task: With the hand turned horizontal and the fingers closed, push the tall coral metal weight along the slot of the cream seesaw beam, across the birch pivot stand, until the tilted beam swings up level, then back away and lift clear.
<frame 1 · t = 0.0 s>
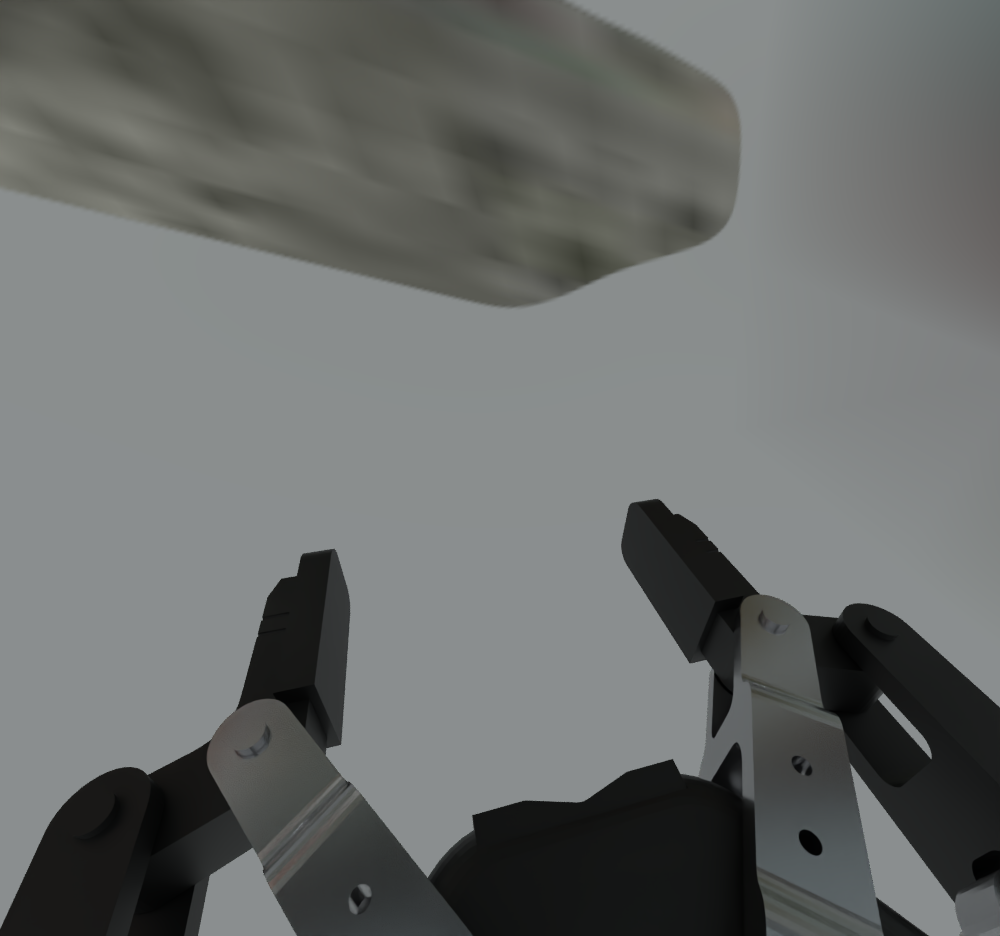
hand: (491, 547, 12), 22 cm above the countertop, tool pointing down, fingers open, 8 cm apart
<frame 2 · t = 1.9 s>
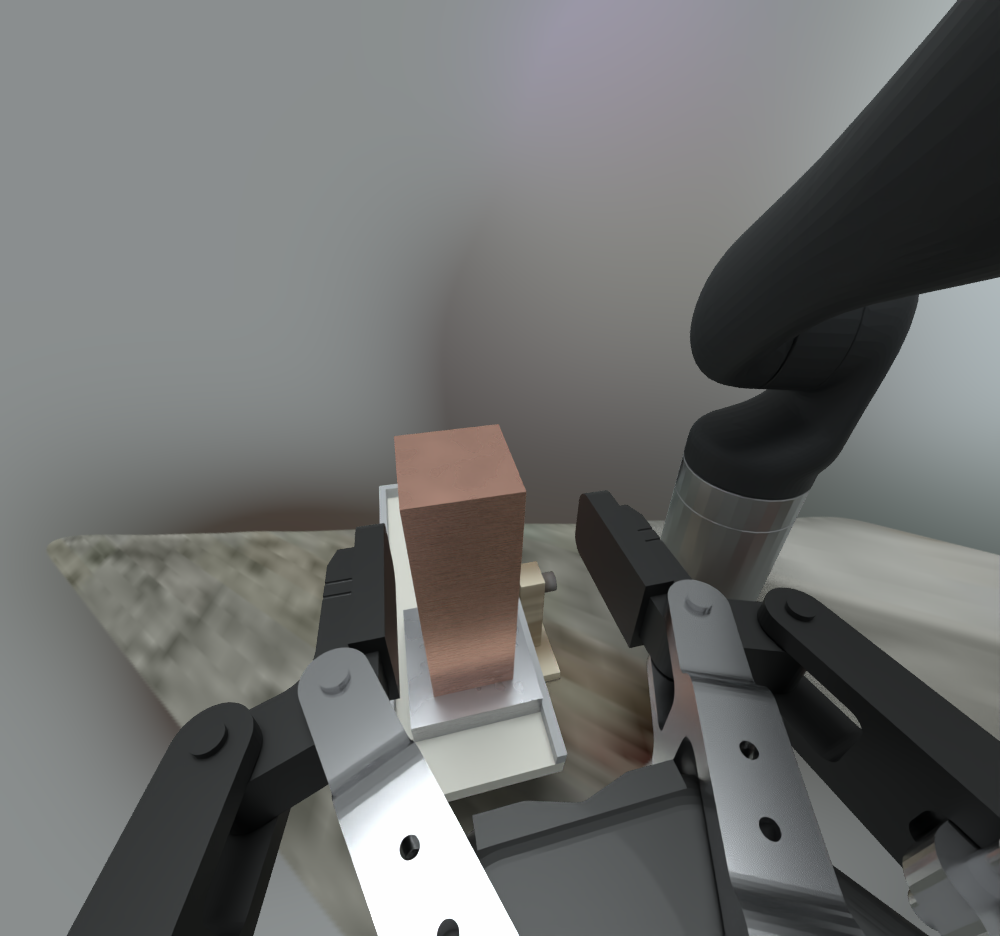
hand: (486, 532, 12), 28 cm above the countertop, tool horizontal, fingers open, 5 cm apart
pivot stand: (456, 658, 40), on the countertop
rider: (468, 665, 30), point 8 cm above the countertop, tilted 5°, touching beam
beam: (449, 595, 35), point 9 cm above the countertop, hinge at -5.3°, touching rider
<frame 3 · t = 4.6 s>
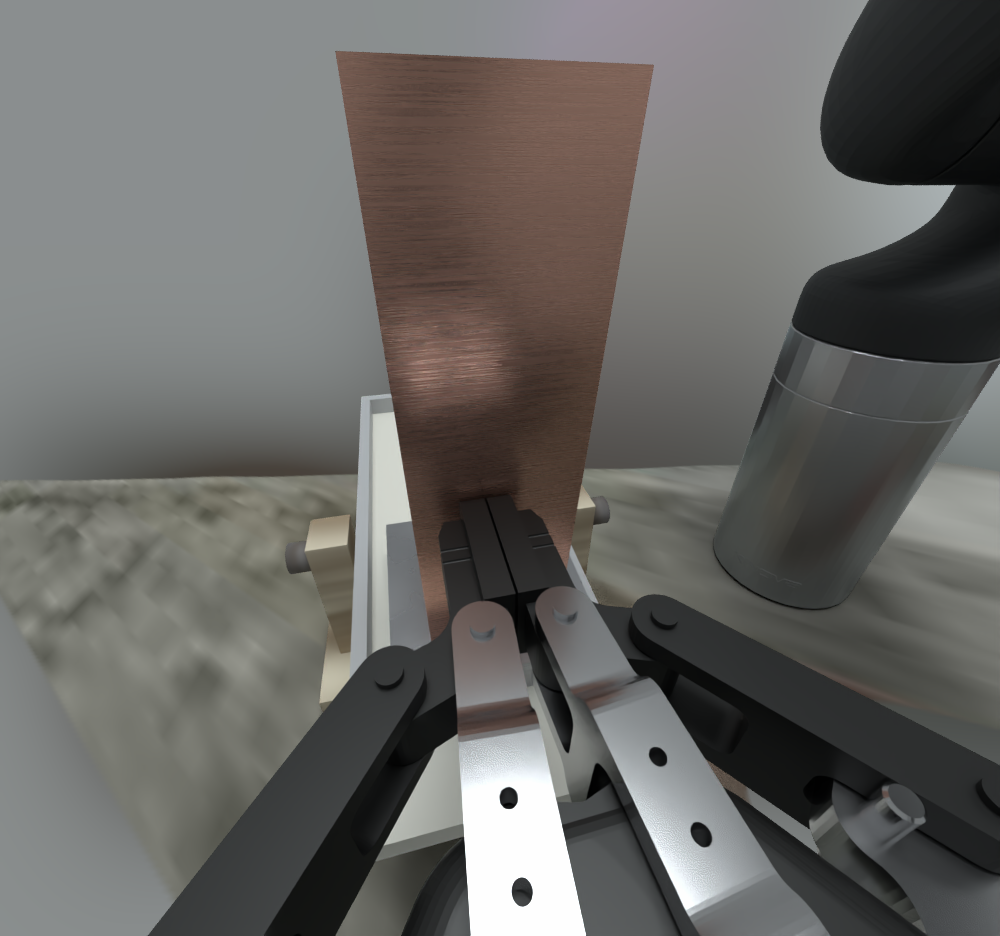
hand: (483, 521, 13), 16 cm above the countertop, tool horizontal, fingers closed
pivot stand: (464, 623, 29), on the countertop
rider: (484, 604, 20), point 8 cm above the countertop, tilted 5°, touching beam, gripper
beam: (456, 524, 24), point 9 cm above the countertop, hinge at -5.3°, touching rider
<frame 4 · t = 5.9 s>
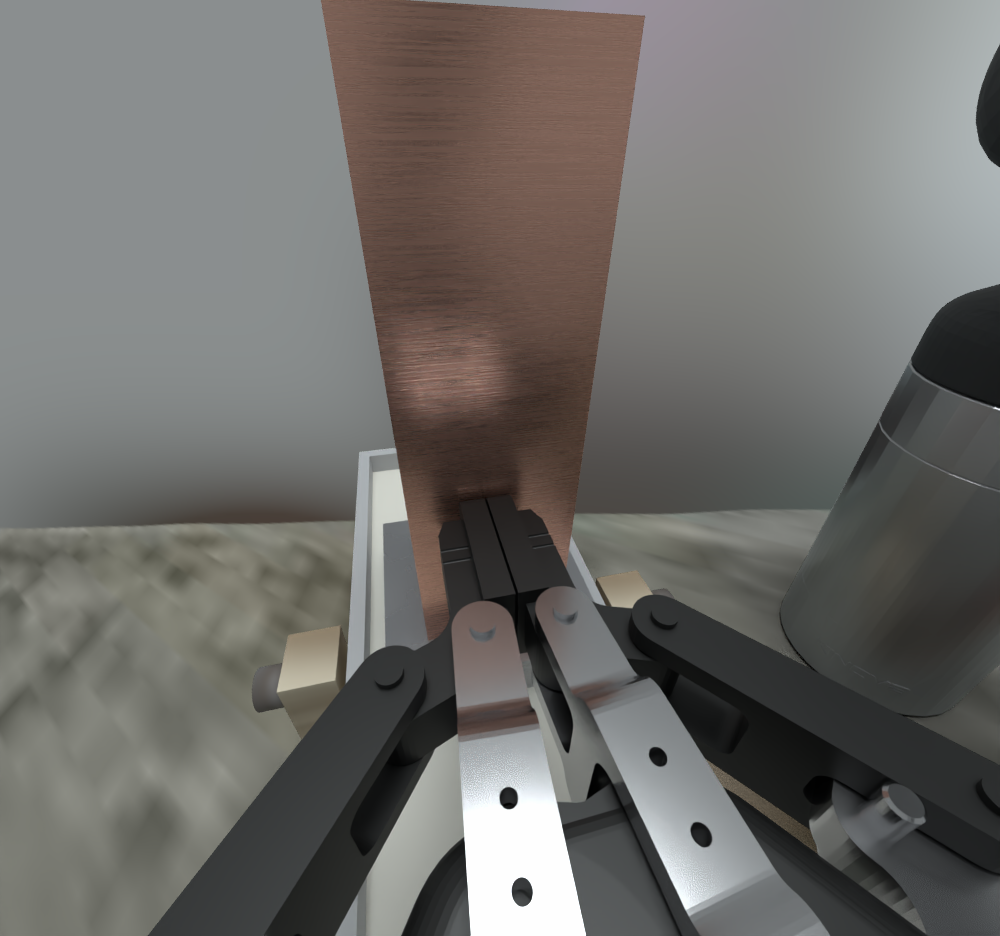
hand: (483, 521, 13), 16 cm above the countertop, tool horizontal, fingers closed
pivot stand: (486, 736, 23), on the countertop
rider: (483, 604, 19), point 9 cm above the countertop, touching gripper
beam: (481, 636, 18), point 9 cm above the countertop, hinge at -3.1°
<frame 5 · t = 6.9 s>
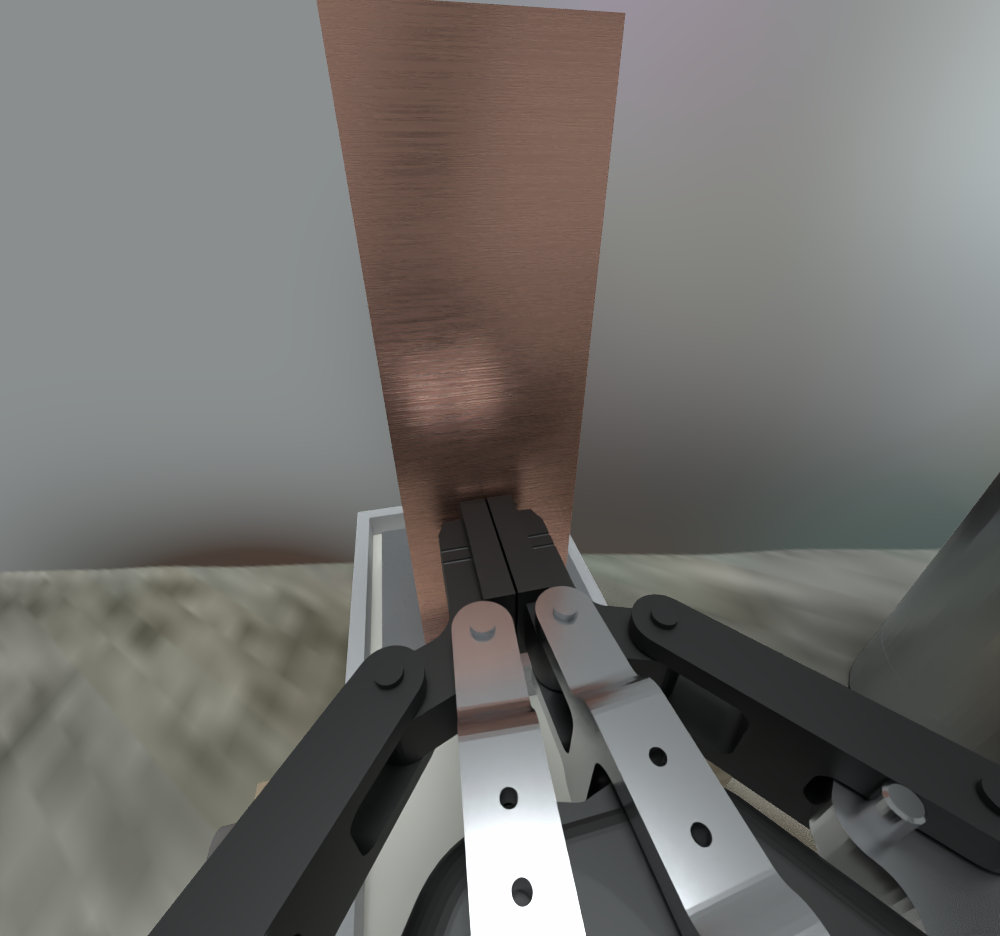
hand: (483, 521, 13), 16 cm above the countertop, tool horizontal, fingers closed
pivot stand: (510, 862, 19), on the countertop
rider: (483, 612, 19), point 9 cm above the countertop, touching gripper
beam: (512, 774, 14), point 9 cm above the countertop, hinge at 0.2°
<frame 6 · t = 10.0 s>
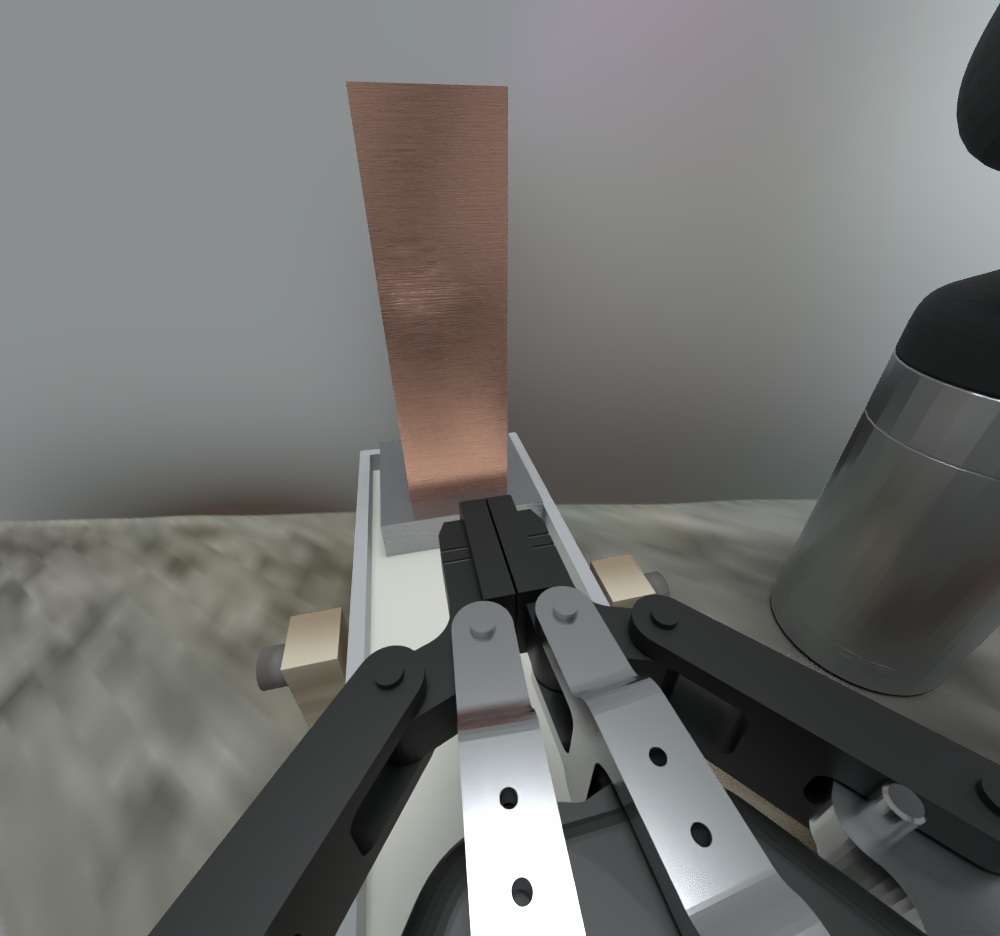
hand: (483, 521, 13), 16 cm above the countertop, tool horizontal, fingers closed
pivot stand: (483, 717, 24), on the countertop
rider: (455, 497, 25), point 9 cm above the countertop, touching beam
beam: (478, 616, 19), point 9 cm above the countertop, hinge at 0.2°, touching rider
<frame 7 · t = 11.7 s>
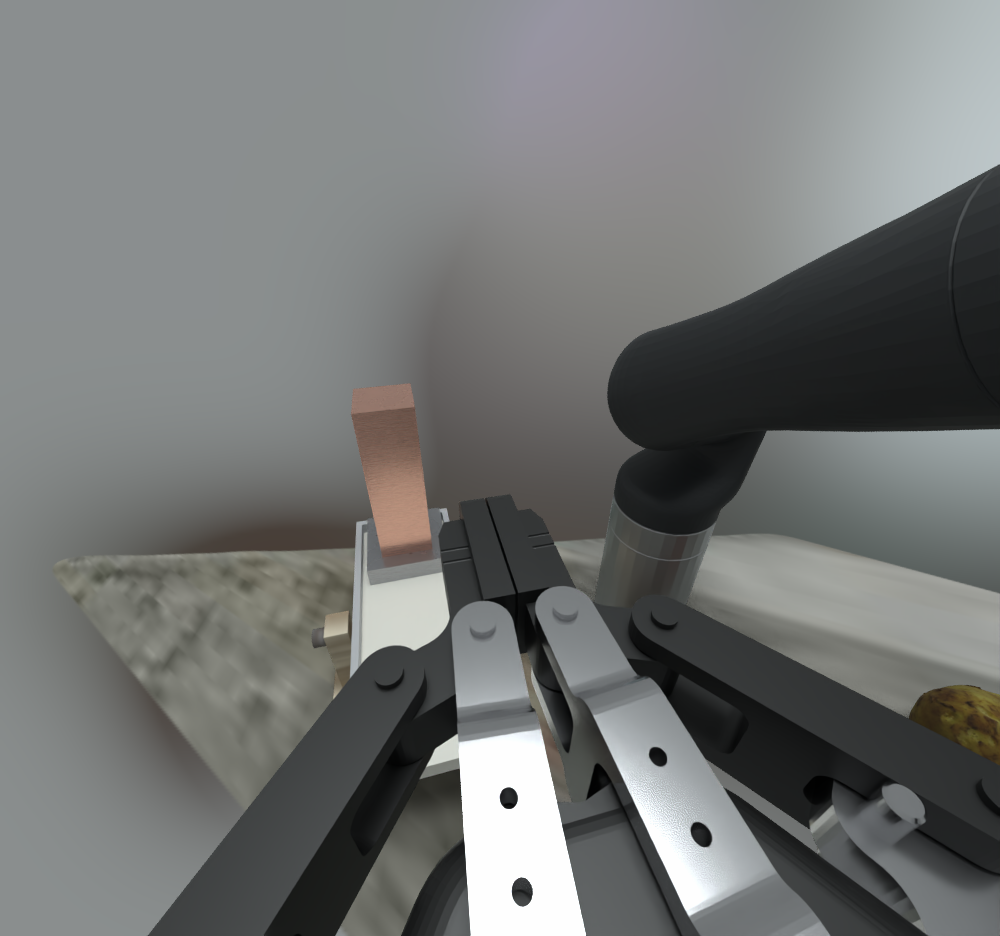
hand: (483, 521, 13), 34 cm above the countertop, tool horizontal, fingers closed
potato: (962, 760, 38), on the countertop
pivot stand: (422, 667, 45), on the countertop
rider: (408, 550, 47), point 9 cm above the countertop, touching beam
beam: (412, 614, 40), point 9 cm above the countertop, hinge at 0.2°, touching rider
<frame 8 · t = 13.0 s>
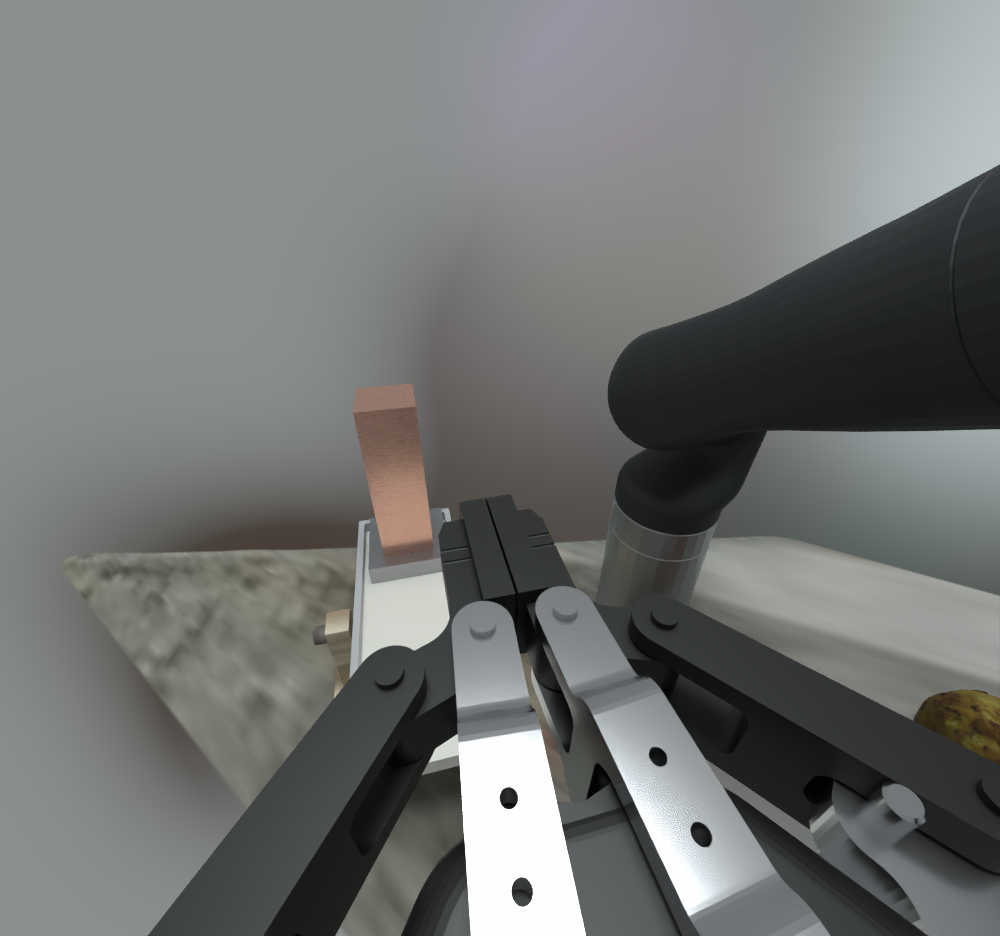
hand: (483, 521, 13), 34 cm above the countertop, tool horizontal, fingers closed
potato: (968, 766, 38), on the countertop
pivot stand: (422, 666, 45), on the countertop
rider: (410, 549, 47), point 9 cm above the countertop, touching beam
beam: (412, 612, 41), point 9 cm above the countertop, hinge at 0.2°, touching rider
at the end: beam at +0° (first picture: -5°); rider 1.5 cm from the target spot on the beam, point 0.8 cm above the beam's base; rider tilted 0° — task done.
